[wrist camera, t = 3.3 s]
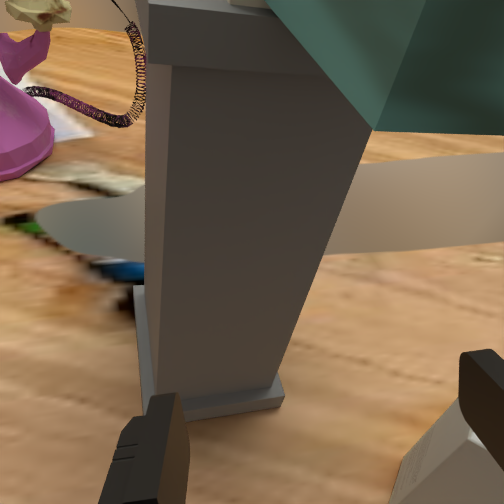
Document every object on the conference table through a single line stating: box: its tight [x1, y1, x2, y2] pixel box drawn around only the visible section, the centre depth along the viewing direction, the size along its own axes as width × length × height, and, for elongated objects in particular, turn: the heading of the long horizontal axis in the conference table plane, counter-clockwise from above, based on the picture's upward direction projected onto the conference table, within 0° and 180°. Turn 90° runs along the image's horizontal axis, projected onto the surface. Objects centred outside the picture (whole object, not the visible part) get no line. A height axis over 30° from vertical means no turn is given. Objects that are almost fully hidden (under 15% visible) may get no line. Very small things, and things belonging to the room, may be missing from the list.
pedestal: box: [133, 0, 372, 422], centre depth 32 cm, size 12×14×32 cm
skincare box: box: [389, 398, 504, 504], centre depth 30 cm, size 8×6×15 cm
